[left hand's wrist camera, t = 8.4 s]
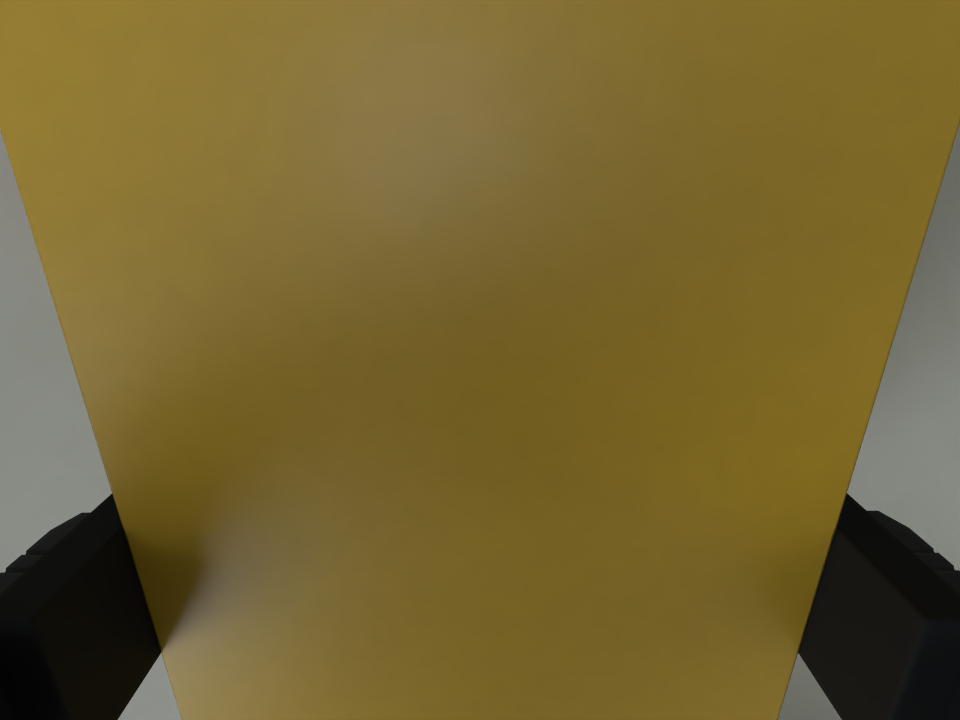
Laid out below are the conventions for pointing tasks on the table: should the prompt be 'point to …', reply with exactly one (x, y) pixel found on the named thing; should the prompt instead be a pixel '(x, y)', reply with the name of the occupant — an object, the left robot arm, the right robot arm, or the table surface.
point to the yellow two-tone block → (479, 329)
